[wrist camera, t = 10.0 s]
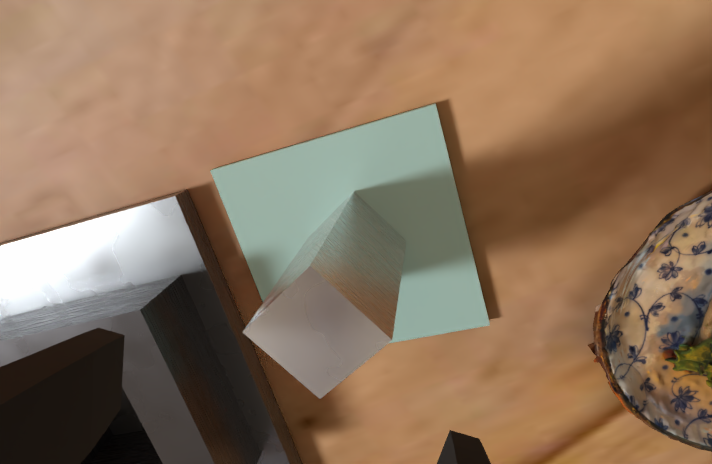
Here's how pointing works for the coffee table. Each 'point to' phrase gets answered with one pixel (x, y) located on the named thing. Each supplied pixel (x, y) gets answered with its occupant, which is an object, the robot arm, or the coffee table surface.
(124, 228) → the plate
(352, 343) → the light grey rectangular block
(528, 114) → the coffee table surface
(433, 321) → the mat
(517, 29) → the coffee table surface
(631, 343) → the burger
